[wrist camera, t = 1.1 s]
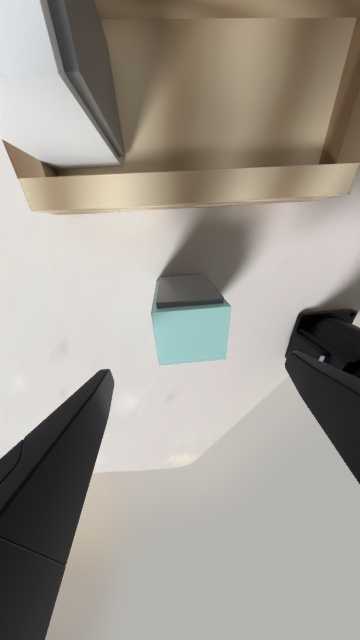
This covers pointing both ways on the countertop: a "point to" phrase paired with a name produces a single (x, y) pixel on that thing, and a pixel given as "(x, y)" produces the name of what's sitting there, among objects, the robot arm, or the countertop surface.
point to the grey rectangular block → (58, 84)
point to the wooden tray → (219, 107)
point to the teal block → (189, 320)
